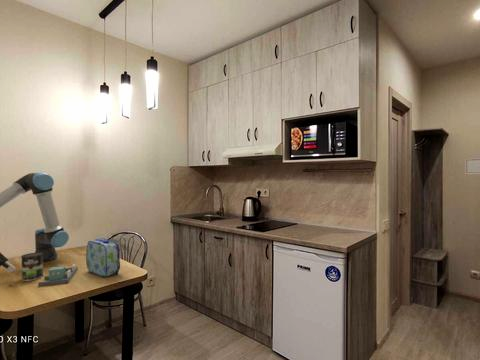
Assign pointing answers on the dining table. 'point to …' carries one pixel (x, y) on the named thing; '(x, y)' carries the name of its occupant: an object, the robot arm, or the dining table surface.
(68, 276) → the rack
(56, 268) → the teal box
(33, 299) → the dining table surface
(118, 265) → the lunch box
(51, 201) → the robot arm
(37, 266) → the coffee can
